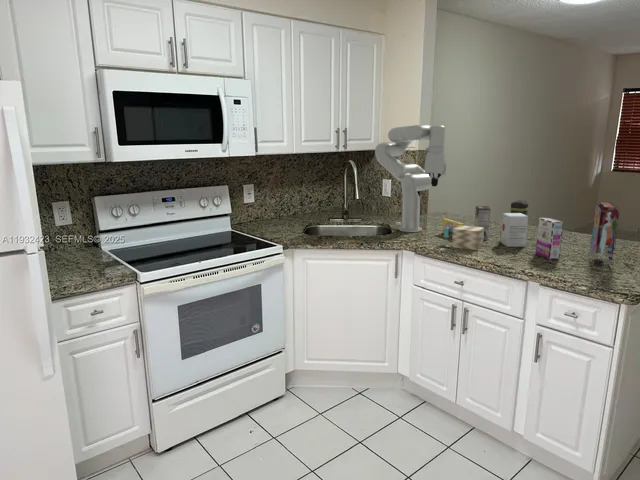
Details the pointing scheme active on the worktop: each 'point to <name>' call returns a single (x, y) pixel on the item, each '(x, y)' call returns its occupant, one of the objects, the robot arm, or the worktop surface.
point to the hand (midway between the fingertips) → (434, 186)
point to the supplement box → (514, 229)
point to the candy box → (450, 224)
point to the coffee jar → (519, 207)
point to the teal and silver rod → (448, 232)
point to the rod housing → (467, 237)
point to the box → (604, 232)
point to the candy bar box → (549, 238)
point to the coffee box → (483, 219)
